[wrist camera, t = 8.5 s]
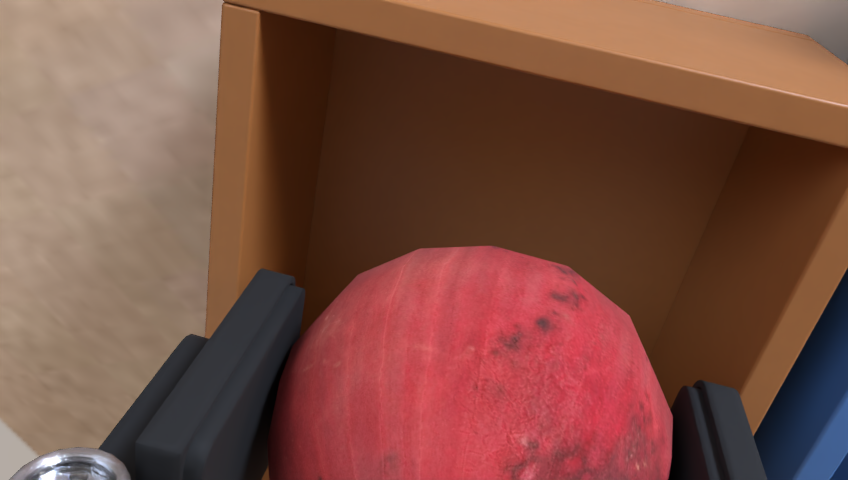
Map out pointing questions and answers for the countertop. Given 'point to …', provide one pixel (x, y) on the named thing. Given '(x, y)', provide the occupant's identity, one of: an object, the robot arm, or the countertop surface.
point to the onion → (470, 378)
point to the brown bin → (543, 162)
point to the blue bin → (812, 405)
